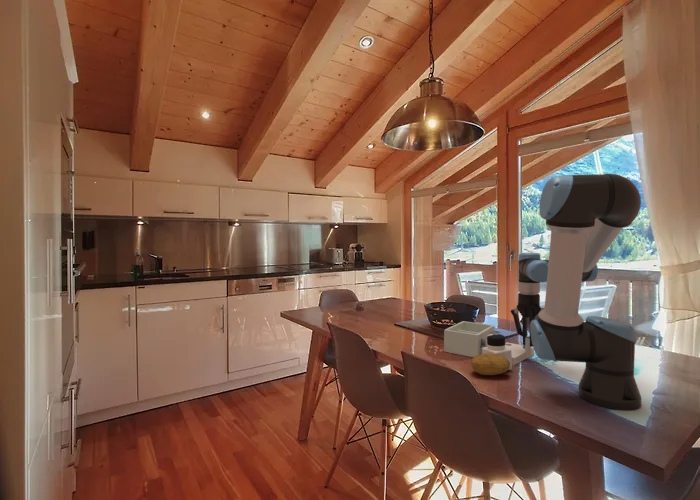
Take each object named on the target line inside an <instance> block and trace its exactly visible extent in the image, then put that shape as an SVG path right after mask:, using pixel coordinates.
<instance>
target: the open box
mask: <svg viewBox="0 0 700 500" xmlns="http://www.w3.org/2000/svg"><path fill="white" fill-rule="evenodd" d="M443 331H444V332H443V333H444V334H443V352H445V353H451V354H455V355H460V356H466V357H470V358H474V357H475V356H477V355H482V348H484V347H488V346H487V336H488V335H490V334H496V333H495V325H492V324H488V323H487V324H486V323H479V322H471V321H465V320H463V321H460V322H458V323H456V324H454V325H452V326H450V327H447V328H445V329H444V330H443Z"/></svg>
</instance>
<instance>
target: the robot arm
mask: <svg viewBox="0 0 700 500" xmlns="http://www.w3.org/2000/svg"><path fill="white" fill-rule="evenodd" d="M641 205H642V198H641V194H640V191H639V189H638V188H637V186H636V185H635V184H634V182H633V181H632V180H630V179H628V178H627V177H625V176H623V175H621V174H616V173H603V174H602V173H600V174H567V175H566V174H565V175H564V174H563V175H557V176H553V177H550V178H549V179H548V180H547V181H546V183H545V184H544V186H543V189H542V191H541V195H540V199H539V206H538V207H539V216H540V218H541V219H543V220H545V225H546V226H547V227H548V229H550V242H549V253H548V259H541V253H538V252H520V253H519V254H518V260H517V264H518V265H517V266H518V268H517V270H518V271H517V272H518V276H517V277H518V281H517V282H518V284H517V285H518V286H517V291H518V292H519V293H518V294H517V305H516V307H515V308H512V309H511V310H510V313H511V315H512V317H513V321H514V326H515V329H516V334H517V335H518V336H521V337H522V346H523V345H525V355H530V354H531V347H532V348H534V354H536V356H537V357H538V358H539V359H540V360H542V361H543V360H544V361H553V362H554V363H555V362H569V363H585V369H584V372H583V373H582V376H581V379H580V381H579V383H578V387H577V390H578V391H577V393H578V395H579V397H580V398H581V399H583V400H585V401H587V402H589V403H591V404H594V405H597V406H600V407H604V408H606V409H607V408H608V409H613V410H619V411H620V410H623V411H631V410H636V409H637V410H638V409H640V408H641V407H642V396H641V393H640V390H639V387H638V384H637V382H636V379H635V378H636V377H635V353H636V351H635V350H636V336H635V333H636V332H635V328H634V327H633V326H632V325H631V324H630V323H627V322H624V321H620V320H618V319H613V318H609V317H603V316H595V315H589V316H588V315H587V316H586V318H585V321H584V318H583V317H582V316H581V315H580V314H579V310H580V299H581V291H582V283H586V282H593V281H595V280H596V279H597V278H598V277H597V276H598V274H599V269H598V264H597V263H598V262H599V261H600V260H601V258H602V257H603V256H604V254H605V253H606V252H607V250H608V249H609V247H610V246H611V245H612V243H613V242H614V241H615V240H616V238H617V237H618V235H619V234H620V233H621V232H622V230H623V229H624V228H627V227H629V226H630V225H632V223H633V222H634V221H635V220H636V219H637V216H638V215H639V213H640V211H641V207H642V206H641ZM541 283H546V287H545V288H546V289H545V299H544V308H543V309H542V307H541V295H540V292H541ZM518 313H519V314H520V315H521V319H522V326H521V321H520V316H519V314H518ZM537 315H538V317H537ZM536 317H537V319H536ZM528 320H529V336H528Z"/></svg>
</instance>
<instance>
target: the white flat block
mask: <svg viewBox="0 0 700 500" xmlns="http://www.w3.org/2000/svg"><path fill="white" fill-rule="evenodd" d="M505 348H508V349H511V354H512V366H515V365H517V364H519V363H521V362H523V361H525V360H526V359H528V358H530V357H532V356H534V355H535V350H534V348H533V347H531V354H530V355H525V345H523V344H517V343H512V342H505Z"/></svg>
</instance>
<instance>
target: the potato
mask: <svg viewBox="0 0 700 500" xmlns="http://www.w3.org/2000/svg"><path fill="white" fill-rule="evenodd" d="M470 365H471V367H472V370H473V371H475V372H476V373H477V374H479V375H482V376H496V375H500V374H503V373H506V372H508V371H509V370H508V369H509V367H510V362H509V361H508V360H507V359H506V358H505V357H503V356H500V355H495V354H489V353H488V354H482V355H477V356H475V357H471V359H470Z"/></svg>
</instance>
